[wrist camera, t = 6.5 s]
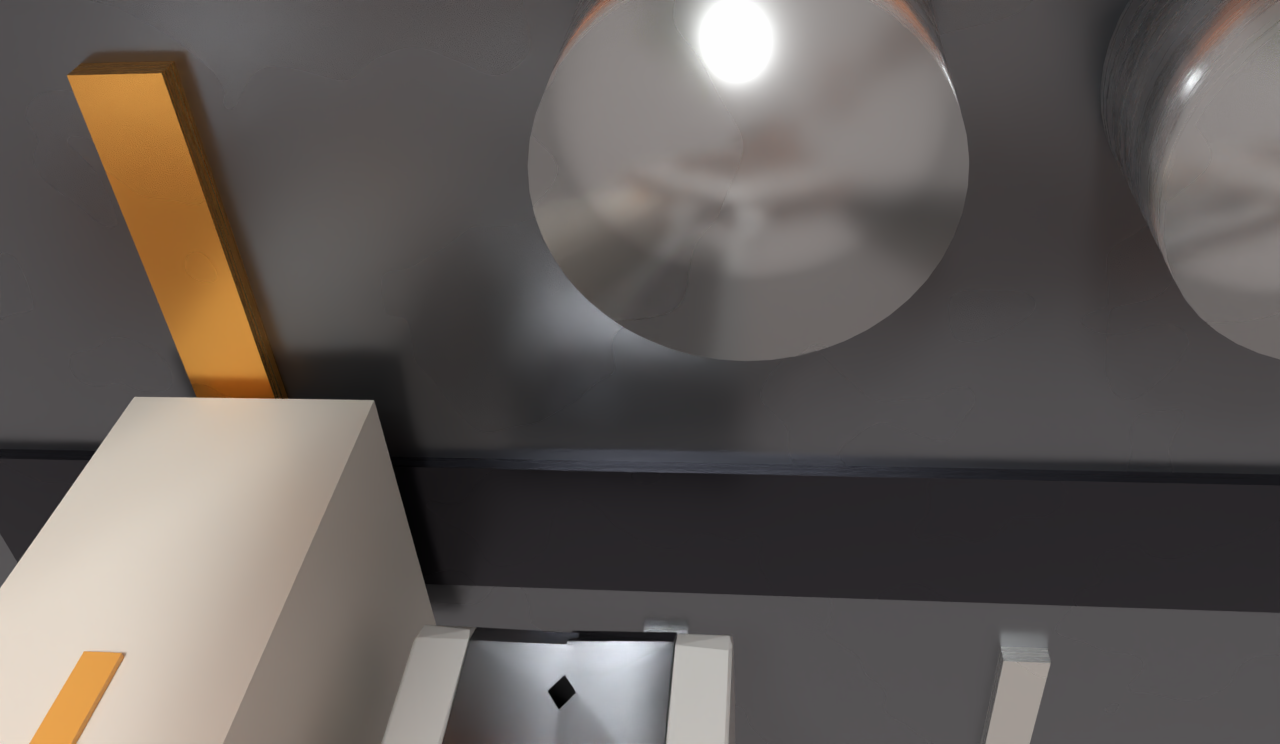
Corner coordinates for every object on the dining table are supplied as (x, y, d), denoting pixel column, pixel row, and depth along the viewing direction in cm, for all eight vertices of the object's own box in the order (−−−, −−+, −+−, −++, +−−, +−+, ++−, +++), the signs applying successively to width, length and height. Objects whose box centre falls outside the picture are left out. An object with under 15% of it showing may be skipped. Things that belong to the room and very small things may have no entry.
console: (2047, -344, 8) (2807, -235, 5) (1369, 775, 17) (1498, 1058, 14) (-462, -201, 10) (-968, -69, 7) (99, 712, 19) (-28, 942, 16)
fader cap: (373, 395, 11) (201, 783, 7) (447, 666, 13) (343, 1039, 10) (132, 392, 11) (-130, 763, 8) (251, 658, 13) (90, 1018, 10)
